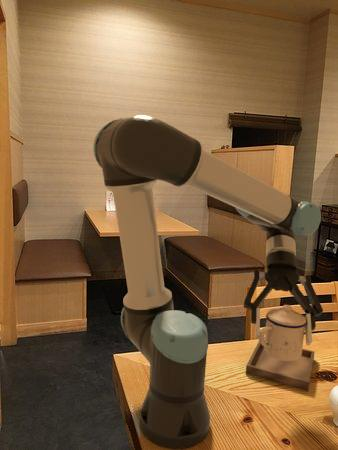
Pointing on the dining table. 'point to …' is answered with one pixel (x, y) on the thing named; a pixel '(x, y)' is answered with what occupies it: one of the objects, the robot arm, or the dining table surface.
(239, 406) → the dining table surface
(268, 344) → the teacup with lid
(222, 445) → the dining table surface
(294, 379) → the walnut tray
